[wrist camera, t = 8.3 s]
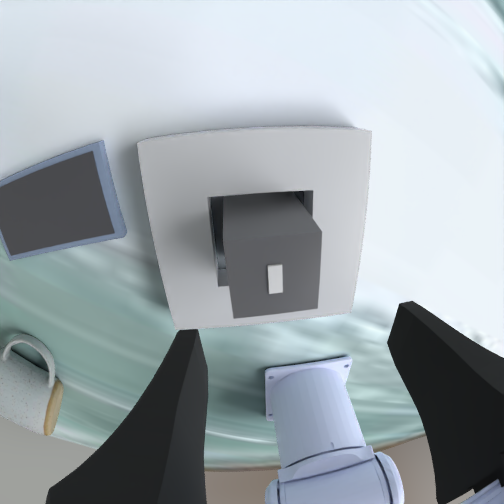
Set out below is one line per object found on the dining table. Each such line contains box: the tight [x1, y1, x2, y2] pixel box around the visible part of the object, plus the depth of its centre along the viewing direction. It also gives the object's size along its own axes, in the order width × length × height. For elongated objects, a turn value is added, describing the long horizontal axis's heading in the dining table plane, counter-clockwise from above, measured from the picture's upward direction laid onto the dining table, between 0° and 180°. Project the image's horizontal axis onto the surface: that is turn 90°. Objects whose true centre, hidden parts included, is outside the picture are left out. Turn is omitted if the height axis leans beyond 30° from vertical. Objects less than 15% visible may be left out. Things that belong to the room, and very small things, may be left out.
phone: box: [0, 141, 127, 261], centre depth 16 cm, size 6×11×1 cm, turn 96°
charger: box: [223, 191, 322, 319], centre depth 15 cm, size 4×4×6 cm
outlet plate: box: [137, 126, 372, 330], centre depth 17 cm, size 12×12×2 cm
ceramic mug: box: [0, 334, 64, 435], centre depth 19 cm, size 11×8×8 cm
